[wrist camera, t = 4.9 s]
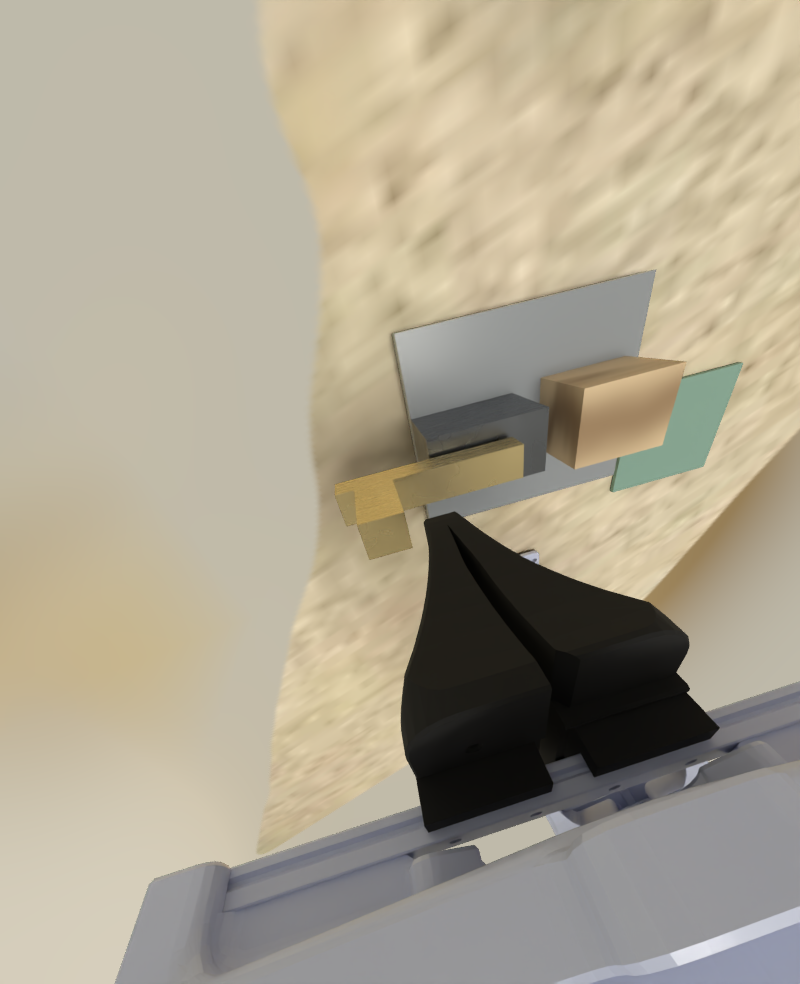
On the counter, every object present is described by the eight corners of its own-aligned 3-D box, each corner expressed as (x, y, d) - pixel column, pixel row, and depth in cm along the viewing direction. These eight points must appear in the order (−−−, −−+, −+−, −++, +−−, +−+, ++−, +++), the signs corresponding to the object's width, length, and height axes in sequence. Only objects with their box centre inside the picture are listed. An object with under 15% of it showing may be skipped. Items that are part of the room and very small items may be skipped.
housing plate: (604, 469, 25) (658, 498, 21) (427, 519, 24) (446, 559, 20) (641, 272, 18) (735, 254, 14) (391, 333, 17) (408, 335, 13)
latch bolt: (512, 468, 17) (558, 506, 13) (346, 514, 16) (347, 566, 13) (512, 436, 16) (562, 468, 12) (335, 484, 15) (333, 531, 12)
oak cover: (612, 426, 22) (662, 445, 18) (537, 447, 22) (574, 469, 18) (625, 355, 19) (686, 361, 16) (540, 377, 19) (584, 388, 16)
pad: (699, 465, 27) (703, 466, 27) (610, 490, 26) (612, 492, 26) (738, 362, 22) (743, 362, 22) (630, 391, 22) (634, 391, 22)
